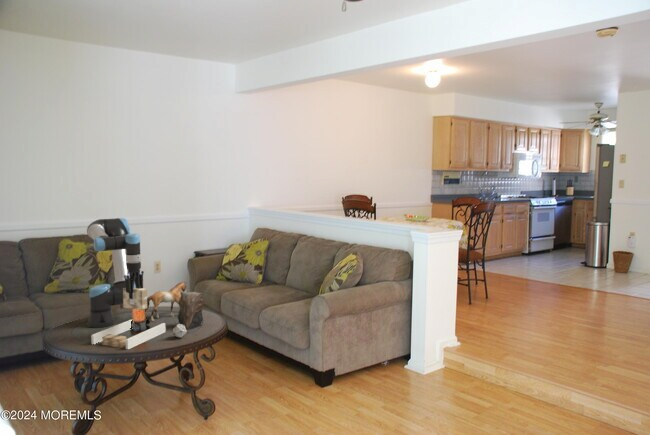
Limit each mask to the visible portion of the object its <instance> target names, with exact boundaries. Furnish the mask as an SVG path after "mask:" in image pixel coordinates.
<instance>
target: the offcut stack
mask: <svg viewBox="0 0 650 435" xmlns="http://www.w3.org/2000/svg"><path fill="white" fill-rule="evenodd" d="M126 339H127V336H125V335H120V334H118V335H112V334H108V335H106V336H103V337H102V340H103V341H101V345H103V346H109V347H115V348H119V349H120V348H123V347H126Z"/></svg>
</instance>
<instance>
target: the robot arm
mask: <svg viewBox="0 0 650 435" xmlns="http://www.w3.org/2000/svg"><path fill="white" fill-rule="evenodd" d="M130 229H131V228H130V225H129V222H128V219H126V218H123V217H122V218H121V217H120V218H119V217H117V218H100V219H96V220H94V221H93V222H91V223H90V224H89V225H88V226H87V228H86V233H87V235H88V237H89V238H90V239H92V240H93V249H94V251H95V252H107V251H111V254H112V262H113V263H112V264H113V272H114V282H112V285H111V284H109V283H104V284H103V283H102V284H98V285H95V286H92V287H91V288H90V289H89V293H88V294H89V296H88V297H89V311H90V313H89V315H88V320H87V326H88V327H89V328H104V327H105V328H106V327H110V326H114V324H115V323H116V319H115V317H114V314H113V311H112V306H119V305H123V288H126V292H127V293H129V299H130V304H132V305H134V304H135V297H134V293H133V289H134V288H144V271H143V270H141V269H142V262H141V260H142V259H141V258H142V257H141V238H140V234H139V233H131V230H130Z"/></svg>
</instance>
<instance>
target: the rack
mask: <svg viewBox="0 0 650 435" xmlns="http://www.w3.org/2000/svg"><path fill="white" fill-rule="evenodd" d="M132 320H133V319H128V320H127V321H124V322H121V323H119V324H116V325H112V326H111V327H108V328H105V329H103V330H101V331H98V332H96V333H92V334H90V335H91V336H90V338H91V345H93V344H94V345H96V343H97V344H98V342H99V343H102V342H103V340H102V337H103V336H106V335H108V334H112V335H120V334H123V333H125V332H128V331H130V330H131V329H130V328H131V321H132ZM166 329H167V328H166V323H165V322H162V323H160V324H158V325H155V326H153V327H151V328H149V329H147V330H144V331H142V332H140V333H137V334H135V335H132V336H131V337H128V338H126V346H125V350H130V349H132V348H134V347H136V346H139V345H140V344H143V343H145V342H148V341H149V340H152V339H154V338H156V337H158V336H160V335H162V334H164V333H166Z"/></svg>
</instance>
